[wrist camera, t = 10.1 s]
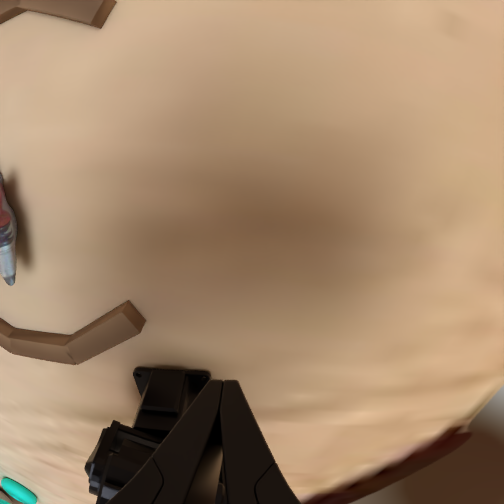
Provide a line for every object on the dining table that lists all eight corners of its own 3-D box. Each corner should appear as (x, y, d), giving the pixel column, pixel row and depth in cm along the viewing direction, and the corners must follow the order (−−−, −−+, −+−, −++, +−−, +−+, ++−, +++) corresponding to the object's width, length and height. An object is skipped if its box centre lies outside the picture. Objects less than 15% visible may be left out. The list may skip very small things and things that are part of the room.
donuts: (-14, 500, 33) (23, 523, 35) (-1, 470, 43) (35, 491, 44) (-4, 511, 37) (30, 530, 39) (7, 483, 46) (40, 502, 48)
